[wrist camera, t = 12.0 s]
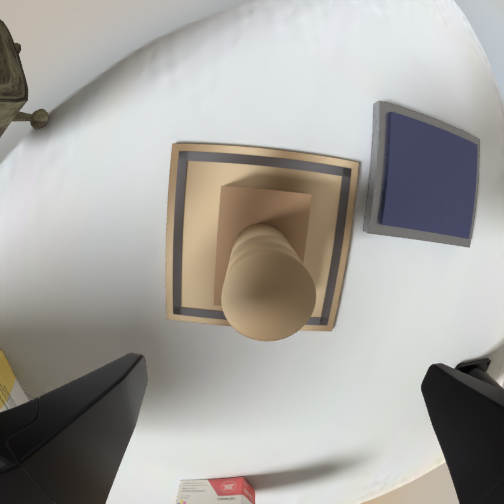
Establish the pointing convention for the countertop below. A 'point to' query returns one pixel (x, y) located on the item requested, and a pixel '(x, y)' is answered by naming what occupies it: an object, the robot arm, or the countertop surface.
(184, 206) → the marked card
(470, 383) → the robot arm
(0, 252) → the countertop surface
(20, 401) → the pasta box
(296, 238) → the stamp
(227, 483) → the ink cartridge box
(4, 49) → the tabletop clock
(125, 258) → the countertop surface
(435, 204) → the ink pad
